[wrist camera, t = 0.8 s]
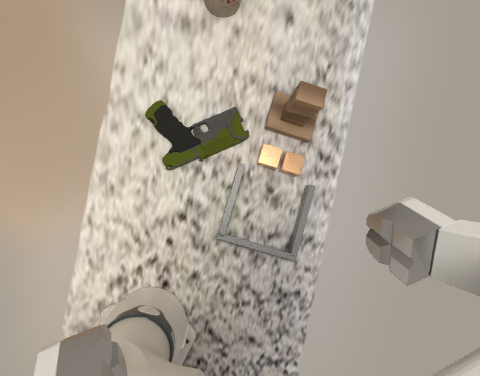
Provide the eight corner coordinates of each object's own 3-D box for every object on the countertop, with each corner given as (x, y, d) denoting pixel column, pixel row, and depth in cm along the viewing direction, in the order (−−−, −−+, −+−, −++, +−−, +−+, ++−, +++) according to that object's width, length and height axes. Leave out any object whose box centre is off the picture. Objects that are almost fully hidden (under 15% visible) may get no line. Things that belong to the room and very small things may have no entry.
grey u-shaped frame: (291, 259, 67) (295, 261, 64) (216, 237, 66) (217, 238, 63) (310, 187, 69) (315, 186, 66) (238, 165, 68) (239, 162, 65)
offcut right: (295, 176, 69) (299, 174, 66) (278, 171, 69) (281, 169, 66) (300, 159, 70) (304, 156, 67) (283, 153, 69) (286, 150, 66)
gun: (222, 79, 70) (250, 141, 70) (140, 111, 67) (169, 176, 67) (223, 74, 68) (252, 138, 67) (137, 107, 65) (168, 175, 65)
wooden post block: (307, 142, 70) (332, 123, 56) (264, 128, 69) (278, 106, 56) (316, 108, 71) (343, 82, 57) (274, 94, 70) (290, 64, 57)
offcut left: (273, 169, 69) (277, 167, 66) (256, 164, 69) (258, 161, 66) (279, 152, 69) (282, 149, 66) (261, 146, 69) (264, 143, 66)
